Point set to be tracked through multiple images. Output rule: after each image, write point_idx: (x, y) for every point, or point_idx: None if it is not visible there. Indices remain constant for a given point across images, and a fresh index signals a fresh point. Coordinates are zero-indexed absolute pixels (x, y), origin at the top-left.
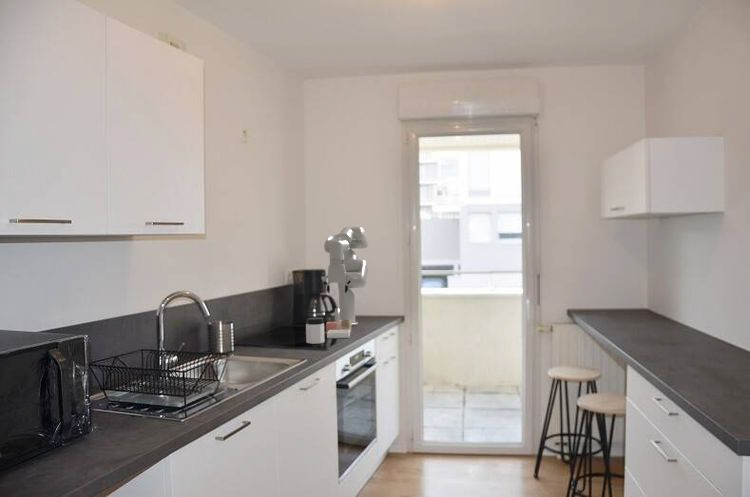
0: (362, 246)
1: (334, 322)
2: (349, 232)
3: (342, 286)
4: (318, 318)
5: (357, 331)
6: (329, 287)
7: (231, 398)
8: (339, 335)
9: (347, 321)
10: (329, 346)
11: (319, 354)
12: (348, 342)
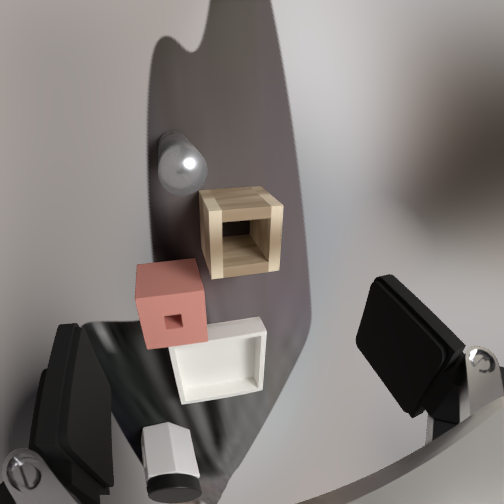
0: None
1: (187, 322)
2: None
3: None
4: (188, 496)
5: (291, 221)
6: (88, 437)
7: None
8: (226, 388)
9: (260, 272)
10: (217, 456)
11: (214, 488)
12: (259, 423)
